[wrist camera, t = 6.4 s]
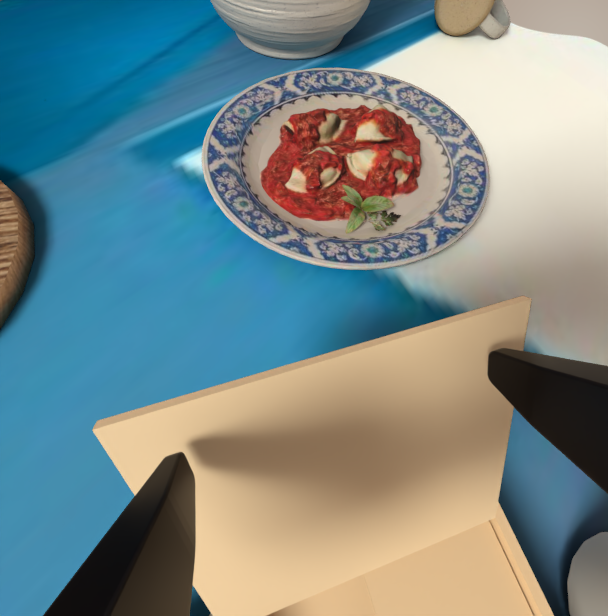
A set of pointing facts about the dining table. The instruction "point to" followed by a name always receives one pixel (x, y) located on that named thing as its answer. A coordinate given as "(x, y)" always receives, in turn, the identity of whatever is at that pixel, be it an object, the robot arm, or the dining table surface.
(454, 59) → the dining table surface
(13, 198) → the trivet
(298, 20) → the vase
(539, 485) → the dining table surface
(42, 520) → the dining table surface
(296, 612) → the carton
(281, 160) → the ceramic plate
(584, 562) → the can
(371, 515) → the flap
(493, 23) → the ceramic mug
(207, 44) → the dining table surface
